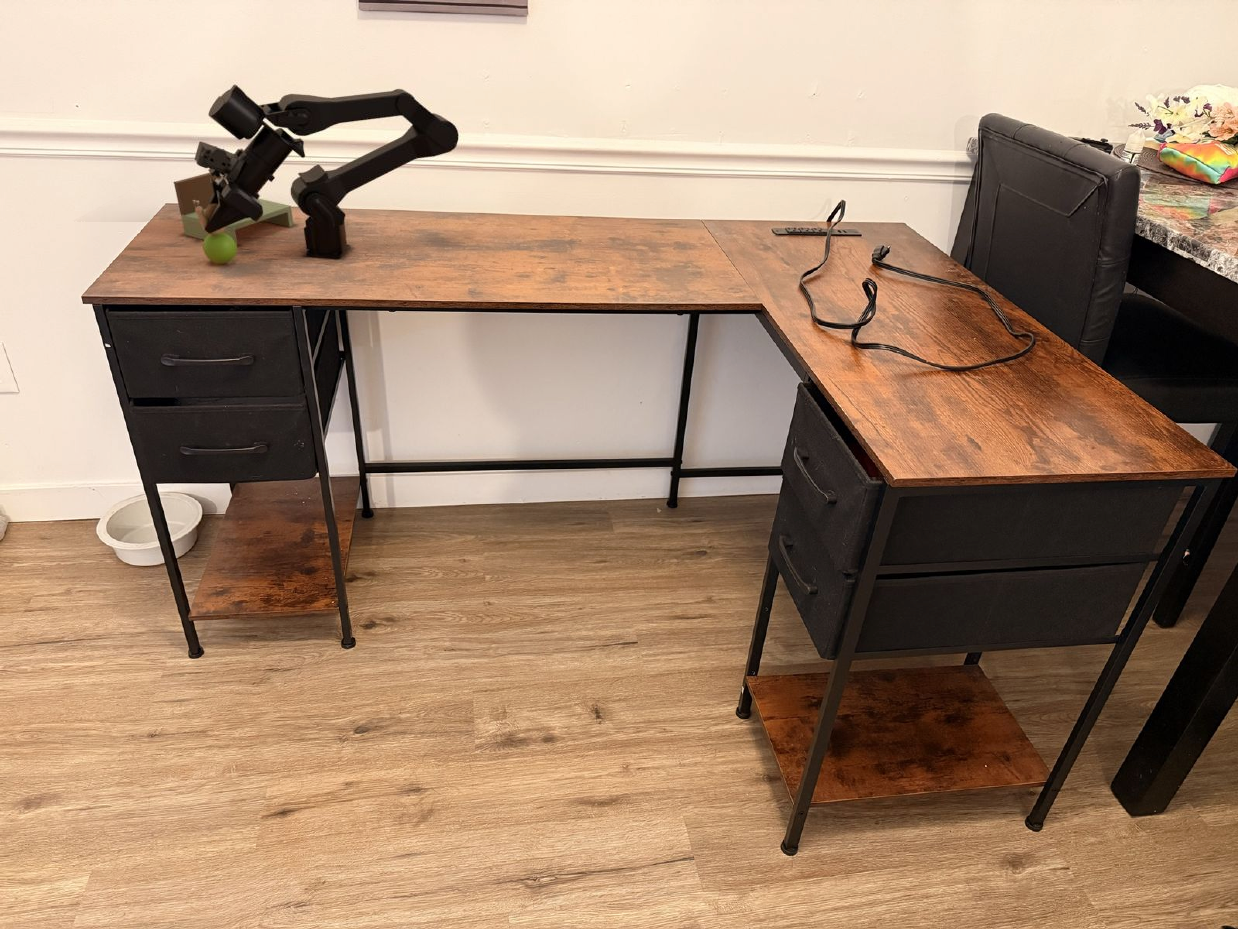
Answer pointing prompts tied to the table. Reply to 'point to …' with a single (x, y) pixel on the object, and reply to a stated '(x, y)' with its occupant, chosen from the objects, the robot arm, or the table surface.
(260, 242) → the table surface
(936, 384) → the table surface
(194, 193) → the bench with backrest
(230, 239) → the snail figurine
